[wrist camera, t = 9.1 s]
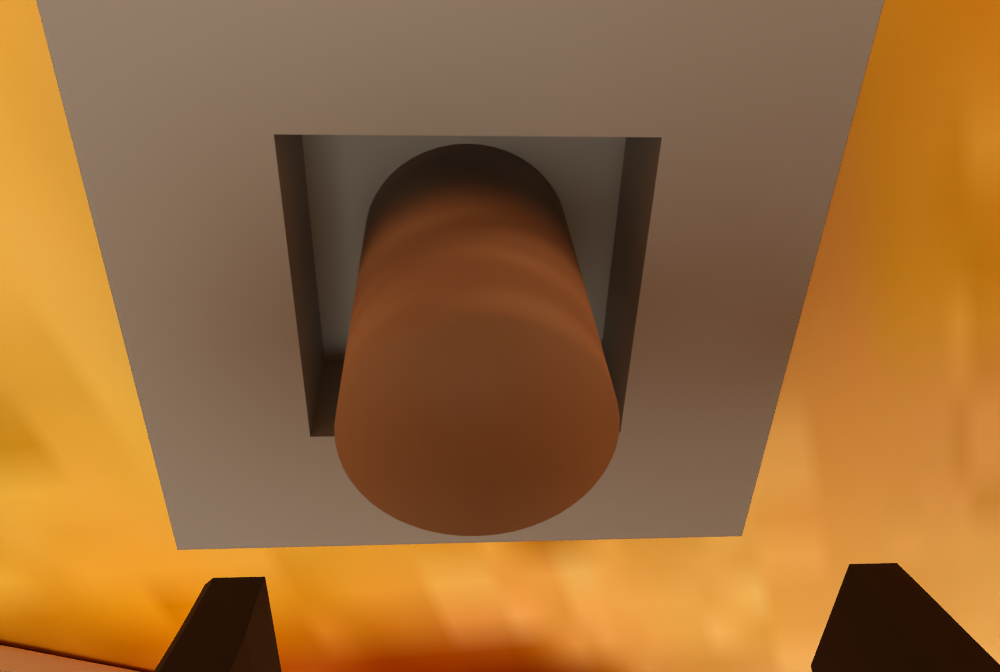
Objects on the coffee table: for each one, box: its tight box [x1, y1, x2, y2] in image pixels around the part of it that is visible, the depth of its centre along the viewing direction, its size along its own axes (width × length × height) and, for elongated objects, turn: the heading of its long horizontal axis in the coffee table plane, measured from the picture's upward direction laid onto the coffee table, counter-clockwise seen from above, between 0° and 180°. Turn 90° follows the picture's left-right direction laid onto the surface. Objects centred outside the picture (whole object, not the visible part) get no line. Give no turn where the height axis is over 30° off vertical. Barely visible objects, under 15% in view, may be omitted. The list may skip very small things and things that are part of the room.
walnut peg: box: [334, 144, 620, 536], centre depth 14 cm, size 4×4×6 cm
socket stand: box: [36, 0, 884, 550], centre depth 16 cm, size 12×12×4 cm
